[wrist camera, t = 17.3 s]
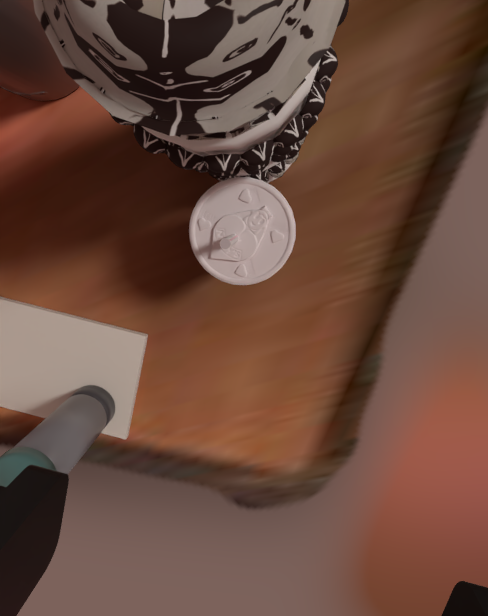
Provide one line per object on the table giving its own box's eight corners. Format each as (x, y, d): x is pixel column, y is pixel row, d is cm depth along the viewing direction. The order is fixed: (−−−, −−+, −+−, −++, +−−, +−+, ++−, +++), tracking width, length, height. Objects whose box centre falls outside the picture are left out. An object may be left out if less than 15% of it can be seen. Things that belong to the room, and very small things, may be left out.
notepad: (-18, 291, 38) (-24, 293, 37) (148, 334, 38) (145, 336, 37) (-29, 395, 40) (-34, 398, 40) (127, 436, 40) (125, 440, 39)
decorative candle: (195, 57, 33) (-49, -391, 8) (318, 72, 32) (441, -351, 8) (182, 183, 35) (-43, 118, 10) (298, 199, 34) (346, 171, 10)
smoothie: (195, 220, 35) (143, 226, 22) (258, 168, 34) (244, 139, 20) (245, 282, 36) (225, 325, 22) (307, 233, 35) (326, 247, 21)
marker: (74, 378, 38) (-16, 452, 27) (120, 390, 38) (50, 469, 27) (67, 421, 39) (-22, 509, 28) (112, 432, 39) (42, 526, 28)
